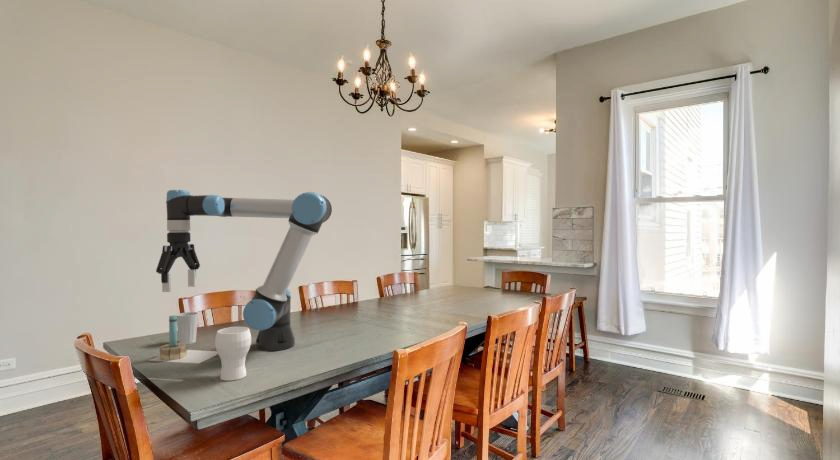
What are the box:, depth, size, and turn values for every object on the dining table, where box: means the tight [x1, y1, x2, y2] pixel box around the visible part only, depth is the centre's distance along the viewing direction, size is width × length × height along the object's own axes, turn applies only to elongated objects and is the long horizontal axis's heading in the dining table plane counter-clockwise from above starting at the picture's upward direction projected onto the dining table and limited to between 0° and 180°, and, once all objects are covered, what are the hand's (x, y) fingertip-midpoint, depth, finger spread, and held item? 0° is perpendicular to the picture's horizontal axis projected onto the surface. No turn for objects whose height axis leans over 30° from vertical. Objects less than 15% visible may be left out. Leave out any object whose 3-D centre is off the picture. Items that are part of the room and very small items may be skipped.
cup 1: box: [176, 311, 199, 345], centre depth 175 cm, size 8×8×12 cm
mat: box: [148, 349, 219, 364], centre depth 157 cm, size 20×14×1 cm
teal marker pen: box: [168, 314, 178, 348], centre depth 155 cm, size 2×2×15 cm
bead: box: [159, 342, 188, 361], centre depth 155 cm, size 8×8×4 cm
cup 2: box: [214, 326, 252, 382], centre depth 136 cm, size 11×11×15 cm
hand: (179, 289), depth 157 cm, fingers open, 13 cm apart
